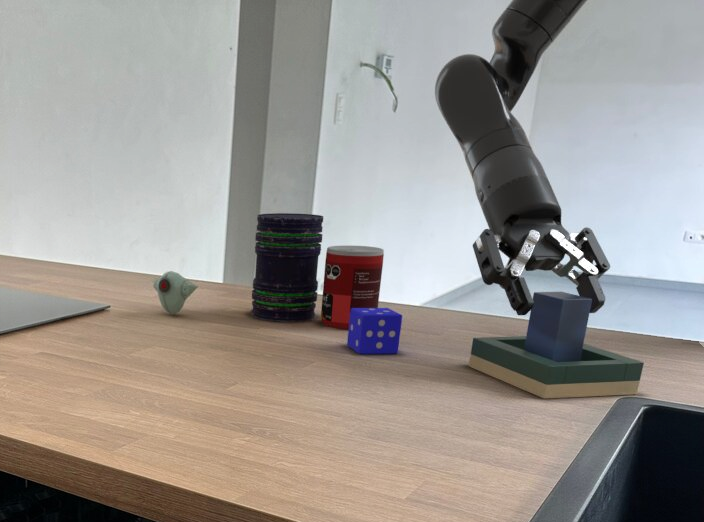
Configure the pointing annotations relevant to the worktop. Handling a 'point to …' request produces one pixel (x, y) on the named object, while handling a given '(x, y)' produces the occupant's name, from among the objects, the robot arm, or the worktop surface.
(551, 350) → the block
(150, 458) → the worktop surface
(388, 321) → the die
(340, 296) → the canned food
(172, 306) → the robot head
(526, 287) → the robot arm
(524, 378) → the tray
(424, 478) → the worktop surface
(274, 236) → the storage jar
